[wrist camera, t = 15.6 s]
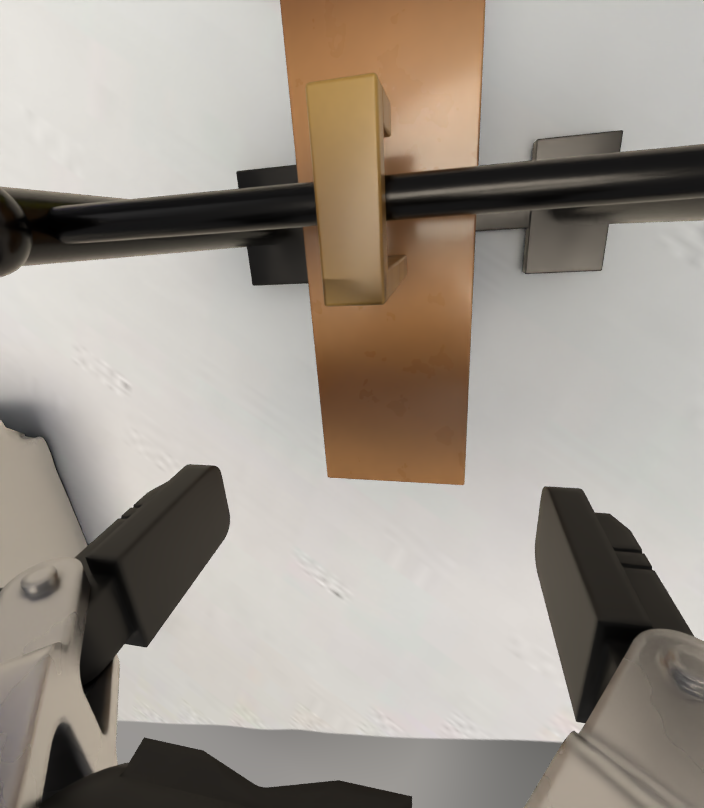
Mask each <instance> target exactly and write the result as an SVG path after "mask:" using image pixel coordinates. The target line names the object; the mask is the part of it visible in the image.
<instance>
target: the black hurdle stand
mask: <svg viewBox="0 0 704 808" xmlns="http://www.w3.org/2000/svg"><path fill="white" fill-rule="evenodd" d="M622 135H623V131H622V130H620V131H611V132H601V133H592V134H582V135H573V136H563V137H554V138H544V139H538V140H536V141H535V142H534V143H533V152H532V161H522V162H512V163H501V164H491V165H481V166H470V167H460V168H449V169H439V170H429V171H418V172H408V173H398V174H387V175H385V200H386V221H393V220H407V219H420V218H434V217H448V216H461V215H475V214H476V230H475V231H488V230H503V229H519V228H526V234H525V246H524V258H523V270H522V272H524V273H525V274H534V273H557V272H580V271H601V270H602V266H603V260H604V253H605V246H606V240H607V233H608V227H609V224H619V223H646V222H674V221H702V220H704V144H699V145H689V146H678V147H668V148H657V149H647V150H637V151H626V152H620V148H621V142H622ZM237 180H238V187H239V189H231V190H221V191H210V192H200V193H190V194H179V195H169V196H158V197H148V198H138V199H122V198H112V197H102V196H91V195H81V194H71V193H60V192H50V191H40V190H29V189H19V188H9V187H0V277H3V276H6V275H8V274H11V273H12V272H14V271H16V270H18V269H19V268H20V267H21V266H28V265H40V264H51V263H63V262H75V261H86V260H98V259H110V258H121V257H133V256H145V255H157V254H168V253H180V252H192V251H203V250H215V249H227V248H238V247H247V249H248V256H249V263H250V270H251V277H252V284H253V285H254V286H255V285H278V284H302V283H308V274H307V264H306V254H305V244H304V234H303V227H310V226H317V215H316V204H315V193H314V182H304V183H298V175H297V165H291V166H281V167H272V168H262V169H253V170H243V171H237Z"/></svg>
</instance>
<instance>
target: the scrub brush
mask: <svg viewBox="0 0 704 808" xmlns="http://www.w3.org/2000/svg"><path fill="white" fill-rule="evenodd" d="M485 1H486V0H280V5H281V15H282V25H283V35H284V45H285V55H286V65H287V75H288V85H289V95H290V105H291V115H292V125H293V135H294V145H295V155H296V165H297V175H298V183H304V182H314V193H315V204H316V215H317V226H310V227H303V234H304V244H305V254H306V264H307V274H308V284H309V294H310V304H311V314H312V324H313V334H314V344H315V354H316V364H317V374H318V384H319V394H320V404H321V414H322V424H323V434H324V444H325V454H326V464H327V474H328V477H330V478H348V479H365V480H383V481H401V482H418V483H436V484H454V485H464V482H465V459H466V436H467V413H468V390H469V367H470V345H471V322H472V299H473V276H474V253H475V230H476V214H475V215H461V216H448V217H434V218H420V219H407V220H393V221H386V200H385V175H387V174H398V173H408V172H418V171H429V170H439V169H449V168H460V167H470V166H478V161H479V139H480V116H481V93H482V70H483V47H484V24H485Z"/></svg>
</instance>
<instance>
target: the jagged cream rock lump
mask: <svg viewBox="0 0 704 808" xmlns="http://www.w3.org/2000/svg"><path fill="white" fill-rule="evenodd" d="M87 546H88V545H87V543H86V540H85V538H84V535H83V533H82V530H81V528H80V525H79V523H78V521H77V518H76V516H75V514H74V511H73V509H72V506H71V504H70V502H69V499H68V497H67V494H66V492H65V490H64V487H63V485H62V483H61V481H60V478H59V476H58V473H57V471H56V469H55V466H54V463H53V459H52V456H51V453H50V451H49V448H48V446H47V444H46V442H45V440H44V439H43V437H35V438H33V437H26V436H25V435H24V433H20V432H18V431H15V430H12V429H9V428H6V427H5V425H4V424H3V422H2V421H1V420H0V588H4V586H5V585H6V584H7V583H8V582H10V581H11V580H12V579H13V578H14V577H16V576H17V575H19V574H20V573H21V572H23V571H25V570H26V569H28V568H30V567H32V566H34V565H37V564H39V563H41V562H44V561H47V560H51V559H55V558H60V557H72V558H75V557H76V556H77V555H78V554H79V553H80V552H81V551H82V550H84V549H85V548H86V547H87Z"/></svg>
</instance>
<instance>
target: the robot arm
mask: <svg viewBox="0 0 704 808" xmlns="http://www.w3.org/2000/svg"><path fill="white" fill-rule="evenodd" d="M229 524H230V514H229V508H228V504H227V499H226V494H225V489H224V484H223V479H222V475H221V472H220V470H219V468H218V467H216V466H209V465H192V464H189V465H186V466H185V467H184V468H182V469H181V470H180V471H179V472H178V473H177V474H176V475H175V476H174V477H173V478H171V479H170V480H169V481H168V482H166V483H164V484H162V485H161V486H159V487H157V488H155V489H153V490H151V491H150V492H148V493H147V494H146V495H145V496H143V497H142V498H141V499H140V500H139V501H138V502H137V503H136V504H134V507H133V508H130V509H129V510H128V511H126V512H125V513H124V514H123V515H122V518H121V519H117V520H116V521H115V522H114V523H113V524H112V525H111V526H110V527H108V528H107V529H106V530H105V531H104V532H103V533H102V534H100V535H99V536H98V537H97V538H96V539H95V540H94V541H93V542H91V543H90V544H89V545H88V546H87V547H86V548H85V549H84V550H82V551H81V552H80V553H79V554H78V555H77V556H76V557H75V558H72V557H60V558H55V559H51V560H47V561H44V562H41V563H39V564H37V565H34V566H32V567H30V568H28V569H26V570H25V571H23V572H21V573H20V574H19V575H17V576H16V577H14V578H13V579H12V580H11V581H10V582H8V583H7V584H6V585H5V586H4V588H0V808H412V796H407V795H403V794H398V793H393V792H389V791H384V790H379V789H375V788H371V787H366V786H362V785H357V784H353V783H348V782H344V781H328V782H319V783H308V784H299V785H290V786H279V787H269V788H263V787H259V786H257V785H255V784H253V783H252V782H250V781H248V780H247V779H245V778H244V777H242V776H241V775H239V774H238V773H236V772H235V771H233V770H232V769H230V768H229V767H227V766H226V765H224V764H223V763H221V762H219V761H218V760H217V759H215V758H214V757H212V756H210V755H209V754H207V753H206V752H204V751H202V750H198V749H193V748H189V747H185V746H180V745H175V744H171V743H166V742H162V741H157V740H153V739H148V738H144V739H143V740H142V742H141V744H140V745H139V747H138V749H137V750H136V752H135V754H134V756H133V757H132V759H131V761H130V762H129V763H124V764H120V765H118V763H117V754H116V735H117V714H118V693H119V672H120V661H119V659H118V656H117V653H118V651H119V650H120V649H121V648H122V646H123V645H124V644H129V645H135V646H141V647H147V646H148V645H149V644H150V642H151V641H152V639H153V638H154V637H155V635H156V634H157V632H158V631H159V630H160V628H161V627H162V625H163V624H164V623H165V621H166V620H167V618H168V617H169V616H170V614H171V613H172V611H173V610H174V609H175V607H176V606H177V604H178V603H179V602H180V600H181V599H182V597H183V596H184V595H185V593H186V592H187V590H188V589H189V588H190V586H191V585H192V583H193V582H194V581H195V579H196V578H197V577H198V575H199V574H200V572H201V571H202V570H203V568H204V567H205V565H206V564H207V563H208V561H209V560H210V558H211V557H212V556H213V554H214V553H215V551H216V550H217V549H218V547H219V546H220V544H221V543H222V542H223V540H224V539H225V537H226V535H227V532H228V529H229ZM535 561H536V568H537V573H538V577H539V581H540V584H541V588H542V592H543V596H544V600H545V604H546V607H547V611H548V615H549V619H550V623H551V627H552V630H553V634H554V638H555V642H556V646H557V650H558V653H559V657H560V661H561V665H562V669H563V673H564V676H565V680H566V684H567V688H568V692H569V696H570V699H571V703H572V707H573V711H574V715H575V719H576V722H582V723H585V725H584V727H583V728H582V730H581V731H580V732H579V733H576V732H575V731H573V732H571V733H570V734H569V735H568V737H567V738H566V739H565V741H564V742H563V743H562V745H561V747H560V748H559V750H558V751H557V753H556V755H555V756H554V758H553V760H552V762H551V763H550V765H549V766H548V768H547V770H546V771H545V773H544V775H543V776H542V778H541V780H540V781H539V783H538V785H537V786H536V788H535V790H534V791H533V793H532V795H531V796H530V798H529V800H528V801H527V803H526V805H525V807H524V808H704V641H702V640H700V639H698V638H696V637H694V635H693V634H692V632H691V630H690V629H689V627H688V625H687V624H686V622H685V620H684V619H683V617H682V615H681V614H680V612H679V610H678V609H677V607H676V605H675V604H674V602H673V600H672V599H671V597H670V595H669V594H668V592H667V590H666V589H665V587H664V586H663V584H662V582H661V581H660V579H659V577H658V576H657V574H656V572H655V571H653V570H652V566H651V564H650V562H649V561H648V559H647V557H646V556H645V554H642V549H641V547H640V546H639V544H638V542H637V541H636V539H635V537H634V536H633V534H632V532H631V531H630V530H629V529H628V528H627V527H625V526H624V525H623V524H622V523H620V522H619V521H618V520H617V519H616V518H614V517H613V516H612V515H611V514H606V513H595V512H594V510H593V509H592V507H591V505H590V503H589V501H588V499H587V497H586V495H585V493H584V491H583V490H582V489H579V488H562V487H544V488H543V490H542V494H541V501H540V509H539V517H538V524H537V532H536V540H535Z"/></svg>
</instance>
